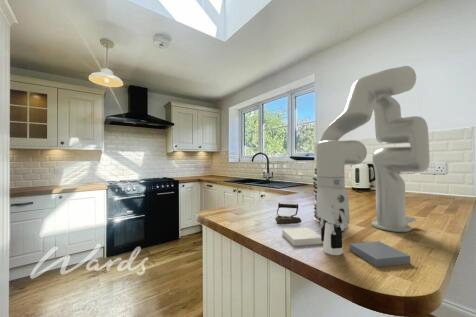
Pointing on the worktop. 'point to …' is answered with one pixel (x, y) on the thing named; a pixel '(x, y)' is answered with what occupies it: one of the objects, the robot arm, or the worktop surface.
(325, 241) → the salt shaker
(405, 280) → the worktop surface
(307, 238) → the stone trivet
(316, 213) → the decorative candle
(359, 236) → the worktop surface
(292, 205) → the clothes iron
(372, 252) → the plate
